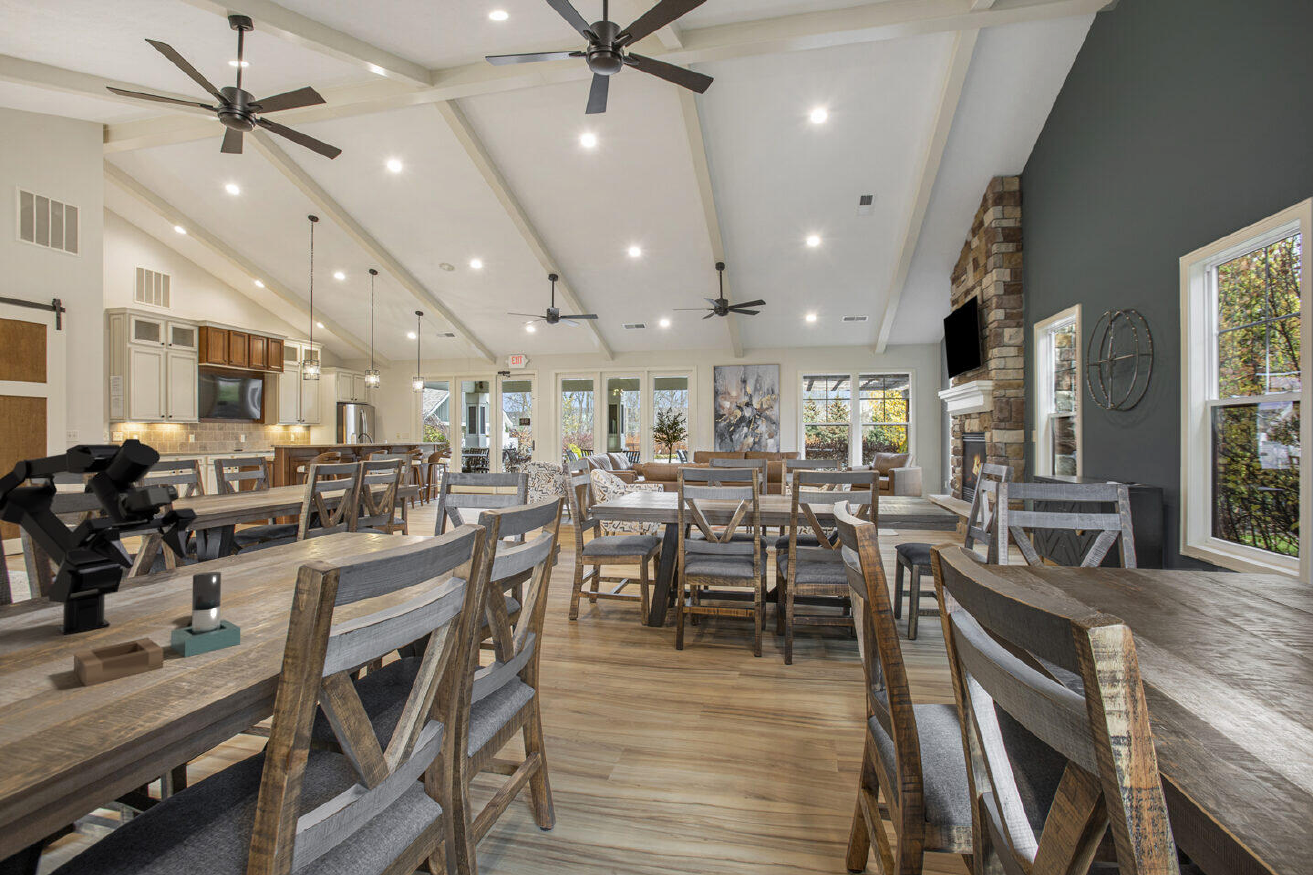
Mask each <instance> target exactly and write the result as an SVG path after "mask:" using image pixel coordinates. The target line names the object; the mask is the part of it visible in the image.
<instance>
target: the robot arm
mask: <svg viewBox="0 0 1313 875" xmlns="http://www.w3.org/2000/svg"><path fill="white" fill-rule="evenodd" d="M160 459H161V456H160V453H159V451H158V450H155V449H154V448H153V447H152V446H150V445H148V444H145V443H142V442H141V441H140V440H139V438H126V439H125V440H124V441H123V442H122V444H121V445H119V444H97V443H96V444H76V445H74V446H72V447H69V448H67V449H66V451H65V453H62V454H57V455H56V454H55V455H50V456H44V457H39V458H33V459H32V458H31V459H29V458H28V459H23V460H19V461H17V462H16V464H15V465H14V468H13V469H12V470H11V471H10V472H9V473H7V474H6V475H3V477H1V478H0V520H1V521H2V522H5V523H6V522H7V523H10V524H14V525H17V526H18V525H19V526H21V527H22V528H23V529H24V531H25V532H26V533H27V534H28V535H29V536H30V537H31V539H33V540H34V542H36V543H37V544H38V546H40V548H42V549H43V551H44V552H45V553H46V554H47V555H48V556H49V557H50V558H51V559H52V560H53V561H54V562H55V563H56V564H57V565H58V570H57V573H56V577H55V580H54V582H52V584H51V586H50V587H49V588H48V589H47V595H48V599H49V602H53V603H63V610H62V611H63V614H62V615H63V616H62V621H63V622H62V624H60V625H57V629H58V631H59V632H60V633H61V634H62V635H68V634H74V633H80V632H85V631H90V630H94V629H101V628H106V627H110V626H111V623H110V622H109V621H108V620H107V619H105V600H106V599H105V595H107V594H112V593H113V594H114V593H117V592H119V587H120V584H121V580H122V577H123V573H124V570H123V569H124V568H126V569H129V570H130V569H132V568H133V567H134V562H133V560H132V557H131V555H130V554H129V553H128V551H127V549H126V547H125V546H124V544H123V542H122V541H121V536H120V535H121V534H124V533H126V534H127V533H134V532H140V531H141V532H142V531H148V530H149V531H150V530H157V532H158V534H161V535H162V536H161V537H160V538H161V540H162V541H163V542H164V544H166V545H167V547H168V548H169V549H171V551H172V552H173V553H174V554H175V555H176V556H177V557H178V558H180V559H185V557H186V556H187V550H186V548H187V547H186V530H187V528H188V527H189V526H191V524H192V523H193V522H194V521H195V520H196V519H198V515H197V513H196V512H195V510H194V509H193V508H191V507H190V508H189V507H185V508H175V509H170V510H169V511H168V512H166V514H165V515H163V517H156V518H155V517H154V516H155V515H158V514H160V512H161V509H160V508H162V507H165V506H167V505H172V504H173V502H175V501H177V500H179V498H180V495H179V492H178V490H177V489H176V486H174V485H173V484H167V485H165V484H164V485H162V486H160V487H157V488H147V489H142V490H138V488H137V486H136V485H135V483H138V482H140V481H142V480H143V479H144V478H145V477H146V475H148V474H149V472H151V470H152V469H153V468H154V467H155V466H156V465H157V464H158V463H159V461H160ZM69 474H78V475H82V474H88V475H89V474H94V475H93V477H92V478H90V479H88V481H87V484H86V486H84V490H83V492H84V494H94V495H95V497H96V499H97V500H98V501H99V503H100V505H101V509H100V510H99V511H98V513H99V515H100V516H101V517H93V518H92V517H91V518H84V519H83V520H82V521H81V522H80V523H79V525H78V526H76V528H75V529H73V531H72V530H71V529H70V528H69V526H67V525H66V524H65V523H64V522H63V521H62V520H61V519H60V518H59V517H58V516H57V514H55V513H54V512H53V511H52V510H51V509H52V505H53V503H54V498H55V495H56V494H57V492H58V489H57V486H56V484H55V482H54V478H55V477H56V476H63V475H69ZM31 479H32V480H34V479H37V480H38V479H44V482H43V484H42V485H32V486H30V485H29V486H28V485H27V486H20V485H22V484H24V483H25V482H26V480H31ZM123 567H124V568H123Z"/></svg>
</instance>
